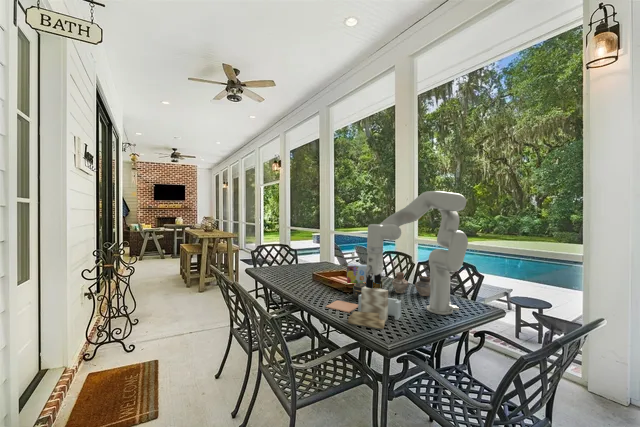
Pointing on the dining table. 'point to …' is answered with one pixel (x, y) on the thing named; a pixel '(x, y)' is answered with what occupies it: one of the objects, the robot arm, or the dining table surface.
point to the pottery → (421, 285)
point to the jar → (357, 289)
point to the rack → (393, 307)
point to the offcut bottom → (367, 322)
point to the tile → (342, 306)
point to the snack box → (357, 274)
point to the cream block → (375, 301)
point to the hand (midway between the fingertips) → (373, 285)
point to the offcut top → (365, 316)
